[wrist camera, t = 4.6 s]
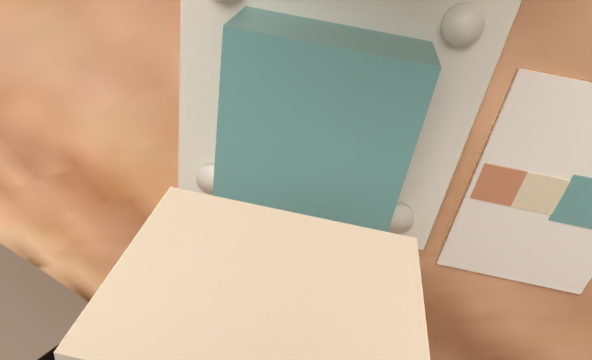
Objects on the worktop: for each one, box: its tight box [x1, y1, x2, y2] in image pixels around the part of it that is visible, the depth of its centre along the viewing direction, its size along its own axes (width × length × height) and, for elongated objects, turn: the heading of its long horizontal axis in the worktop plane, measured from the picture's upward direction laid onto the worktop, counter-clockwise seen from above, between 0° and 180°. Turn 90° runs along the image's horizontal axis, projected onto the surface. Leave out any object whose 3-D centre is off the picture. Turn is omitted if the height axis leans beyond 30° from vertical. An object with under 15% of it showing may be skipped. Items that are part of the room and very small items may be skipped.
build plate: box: [178, 0, 522, 250], centre depth 18 cm, size 12×12×4 cm
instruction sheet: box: [436, 68, 592, 294], centre depth 20 cm, size 7×10×1 cm
